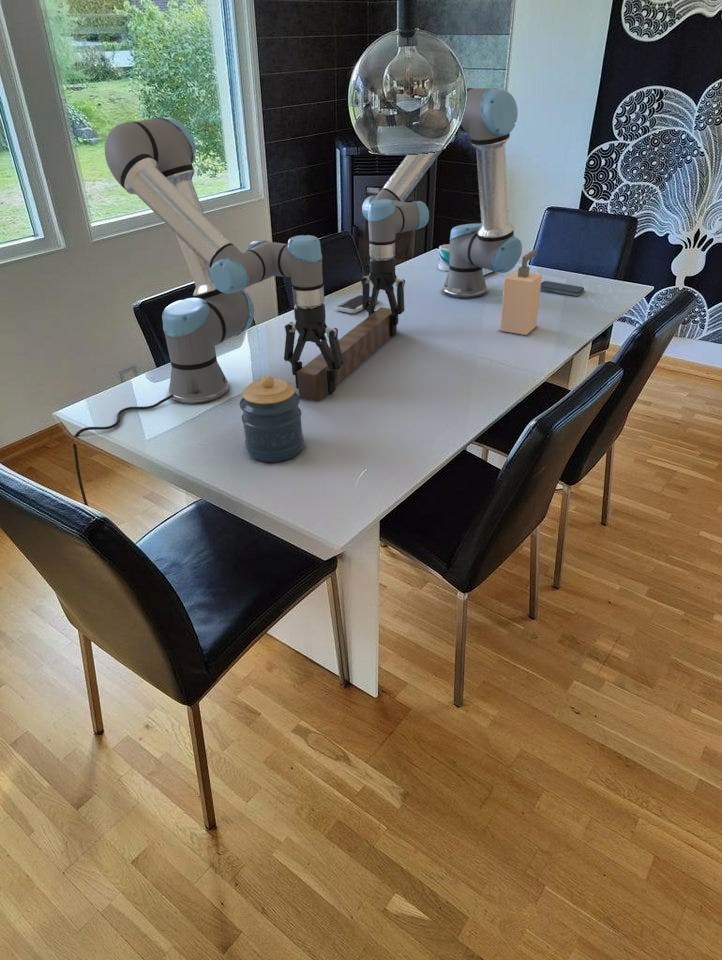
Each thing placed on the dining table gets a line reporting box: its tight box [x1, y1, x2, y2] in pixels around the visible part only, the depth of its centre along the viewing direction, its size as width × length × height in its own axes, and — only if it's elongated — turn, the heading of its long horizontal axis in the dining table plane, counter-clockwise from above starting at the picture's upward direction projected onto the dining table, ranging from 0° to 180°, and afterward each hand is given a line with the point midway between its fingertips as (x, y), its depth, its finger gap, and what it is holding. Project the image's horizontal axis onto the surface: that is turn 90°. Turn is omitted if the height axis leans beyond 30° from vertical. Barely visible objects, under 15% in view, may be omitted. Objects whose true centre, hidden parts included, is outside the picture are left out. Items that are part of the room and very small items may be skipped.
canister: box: [239, 374, 305, 463], centre depth 146 cm, size 13×13×18 cm
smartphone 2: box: [540, 280, 585, 297], centre depth 238 cm, size 8×2×15 cm
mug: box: [438, 243, 450, 272], centre depth 266 cm, size 8×12×8 cm
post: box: [297, 306, 398, 402], centre depth 189 cm, size 52×5×7 cm, turn 155°
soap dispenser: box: [499, 249, 543, 336], centre depth 204 cm, size 13×9×22 cm
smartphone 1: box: [335, 294, 378, 314], centre depth 231 cm, size 8×1×15 cm
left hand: (315, 389), depth 174 cm, fingers open, 9 cm apart
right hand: (383, 333), depth 208 cm, fingers closed on post, 5 cm apart
